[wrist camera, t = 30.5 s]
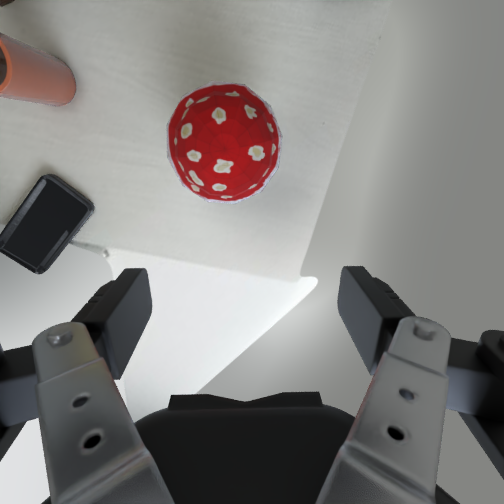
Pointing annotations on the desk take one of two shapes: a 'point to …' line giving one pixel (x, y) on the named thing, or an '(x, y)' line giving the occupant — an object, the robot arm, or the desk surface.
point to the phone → (44, 224)
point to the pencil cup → (33, 74)
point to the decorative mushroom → (223, 142)
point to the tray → (5, 2)
